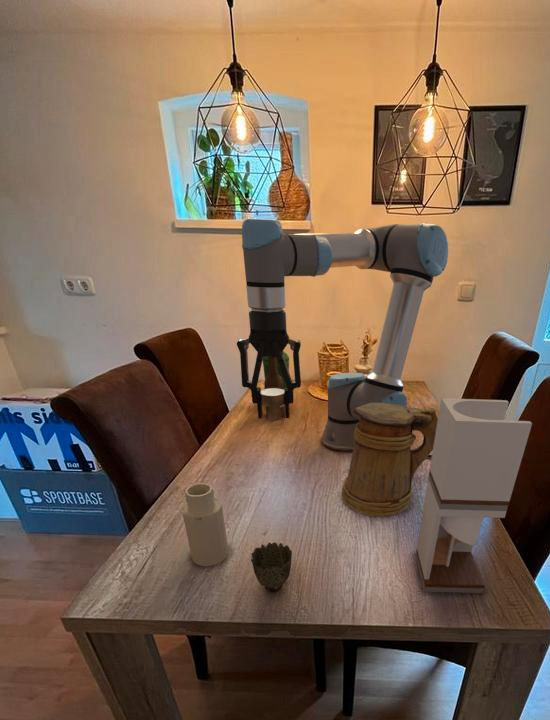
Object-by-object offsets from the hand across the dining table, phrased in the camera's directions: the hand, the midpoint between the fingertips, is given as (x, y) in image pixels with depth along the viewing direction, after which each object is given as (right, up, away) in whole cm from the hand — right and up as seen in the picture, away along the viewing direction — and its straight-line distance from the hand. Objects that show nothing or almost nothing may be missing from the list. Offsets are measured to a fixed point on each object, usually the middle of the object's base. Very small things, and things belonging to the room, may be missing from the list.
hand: (274, 416), depth 93 cm
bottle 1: (-12, -31, -10) cm, 34 cm away
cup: (+3, -36, -17) cm, 40 cm away
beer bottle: (-11, +11, +62) cm, 63 cm away
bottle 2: (-12, +18, +75) cm, 78 cm away
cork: (0, -1, 0) cm, 1 cm away
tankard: (+27, -20, +12) cm, 36 cm away
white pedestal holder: (+38, -34, -12) cm, 52 cm away
